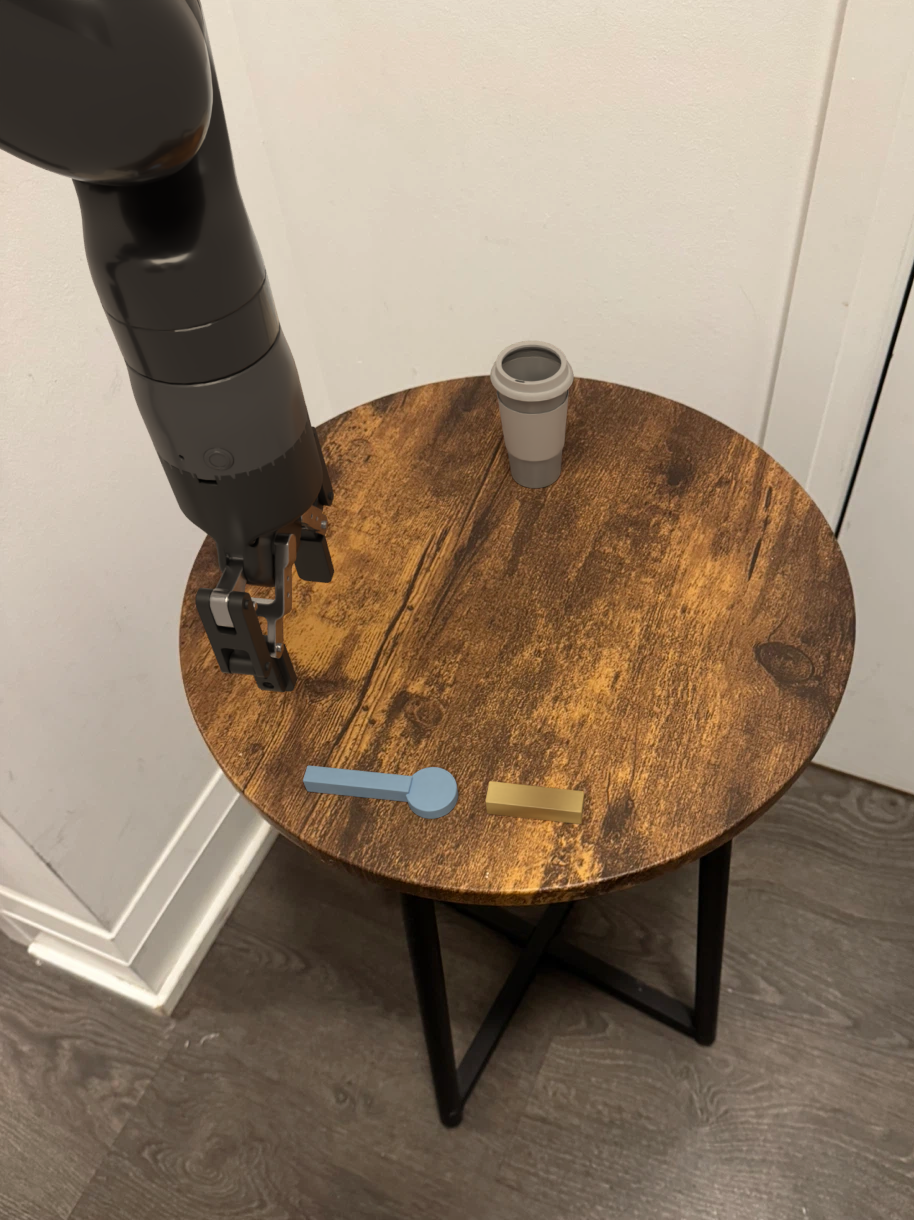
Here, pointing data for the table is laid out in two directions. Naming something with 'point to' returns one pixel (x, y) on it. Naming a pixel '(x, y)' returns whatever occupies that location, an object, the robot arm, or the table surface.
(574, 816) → the fry stick
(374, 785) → the spoon
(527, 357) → the cup
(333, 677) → the table surface
